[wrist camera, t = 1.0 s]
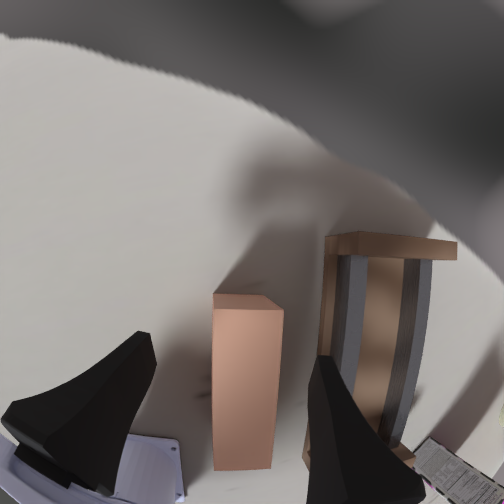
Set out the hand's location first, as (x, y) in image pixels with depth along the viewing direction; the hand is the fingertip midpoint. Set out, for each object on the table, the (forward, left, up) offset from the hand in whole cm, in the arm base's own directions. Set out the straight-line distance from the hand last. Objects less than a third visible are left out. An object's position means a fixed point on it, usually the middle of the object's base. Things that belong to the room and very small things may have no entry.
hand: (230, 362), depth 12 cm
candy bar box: (-22, -28, -12) cm, 38 cm away
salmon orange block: (-4, -1, -11) cm, 12 cm away
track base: (-4, -13, -11) cm, 18 cm away
